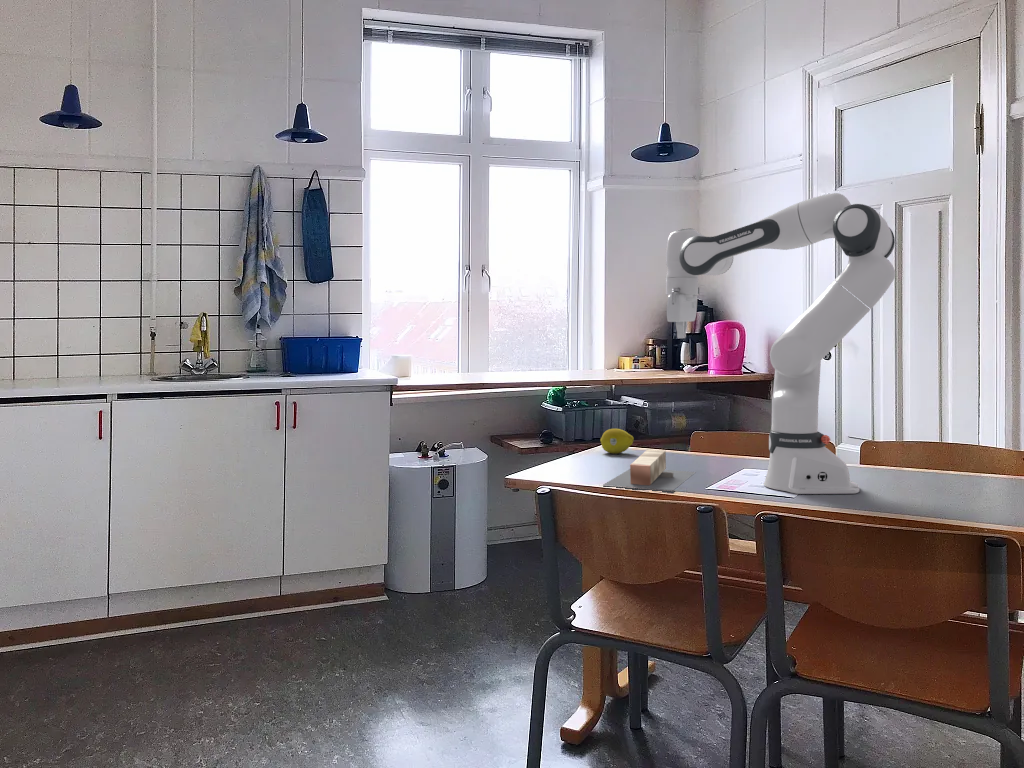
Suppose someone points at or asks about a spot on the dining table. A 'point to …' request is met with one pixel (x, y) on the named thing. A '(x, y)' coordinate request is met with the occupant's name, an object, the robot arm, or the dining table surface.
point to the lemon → (616, 441)
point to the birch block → (648, 467)
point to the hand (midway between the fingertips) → (681, 338)
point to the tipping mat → (663, 482)
